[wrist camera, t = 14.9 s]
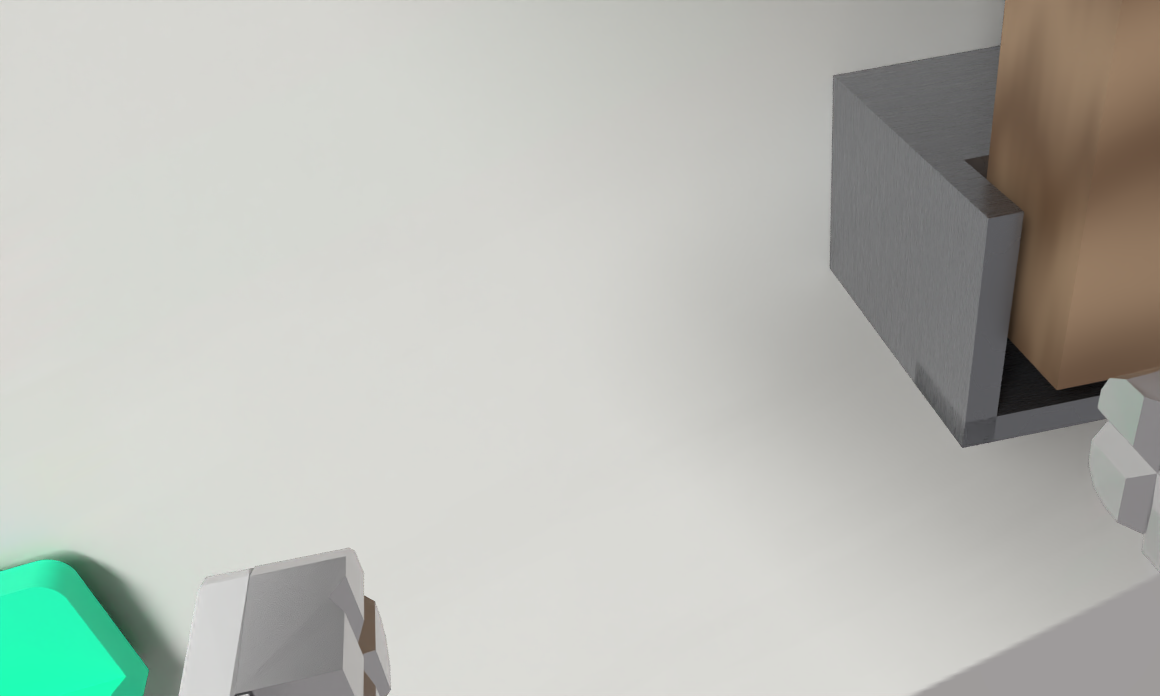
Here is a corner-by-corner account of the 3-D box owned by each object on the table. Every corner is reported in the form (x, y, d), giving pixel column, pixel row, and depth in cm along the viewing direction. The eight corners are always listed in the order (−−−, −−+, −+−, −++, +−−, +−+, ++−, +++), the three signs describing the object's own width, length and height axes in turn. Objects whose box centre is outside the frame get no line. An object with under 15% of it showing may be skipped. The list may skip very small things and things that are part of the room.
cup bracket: (833, 75, 37) (988, 218, 28) (1033, 39, 38) (1252, 168, 28) (830, 268, 42) (962, 447, 32) (1008, 234, 42) (1191, 401, 33)
